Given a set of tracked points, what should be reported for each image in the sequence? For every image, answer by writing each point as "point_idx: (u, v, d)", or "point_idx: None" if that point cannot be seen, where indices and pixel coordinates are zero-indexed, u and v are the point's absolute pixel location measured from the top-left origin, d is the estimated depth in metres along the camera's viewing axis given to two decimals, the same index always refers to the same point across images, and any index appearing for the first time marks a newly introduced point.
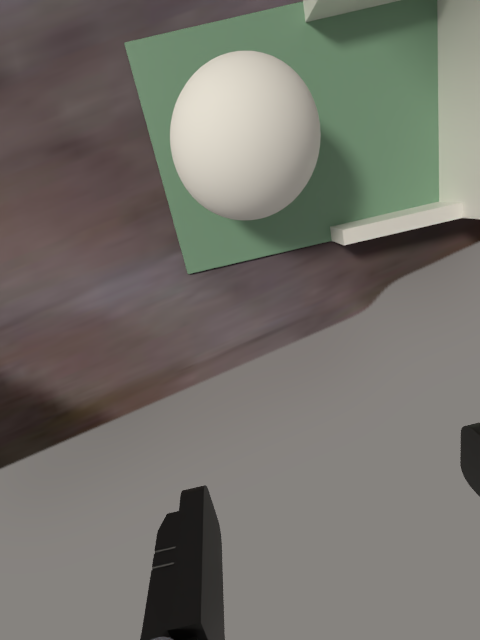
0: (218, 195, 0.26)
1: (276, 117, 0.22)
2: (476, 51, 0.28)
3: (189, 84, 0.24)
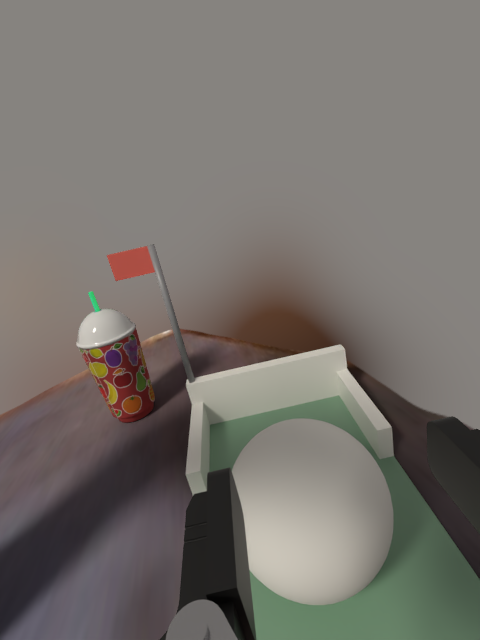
0: (362, 486, 0.21)
1: (283, 427, 0.25)
2: (246, 383, 0.45)
3: (249, 529, 0.22)
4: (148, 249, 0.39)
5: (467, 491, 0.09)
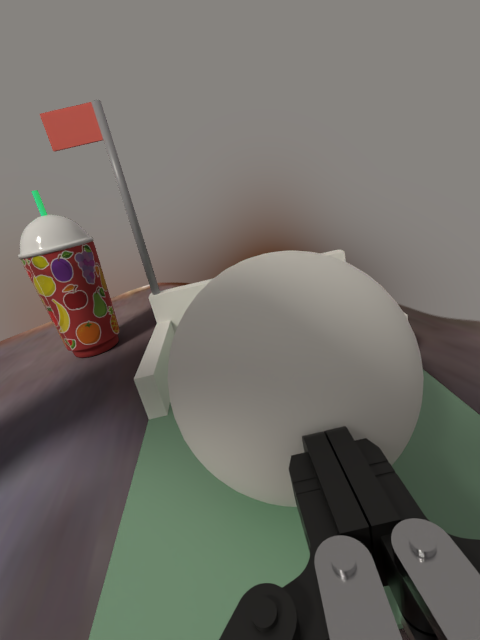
0: (375, 303, 0.13)
1: None
2: None
3: (191, 377, 0.13)
4: (92, 107, 0.30)
5: None
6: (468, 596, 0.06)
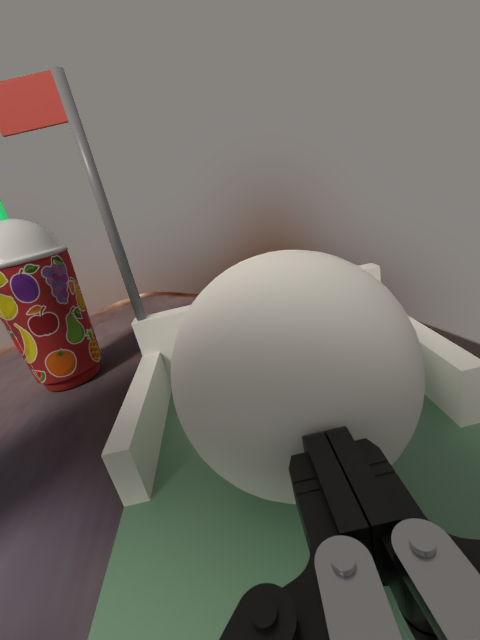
0: None
1: None
2: None
3: None
4: (52, 77, 0.23)
5: None
6: (468, 596, 0.06)
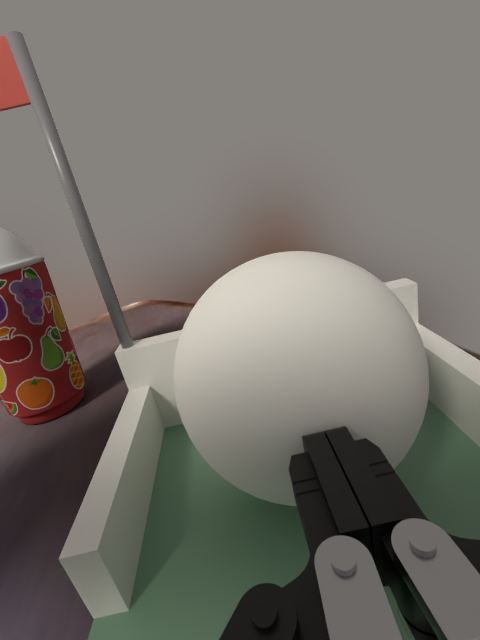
0: None
1: None
2: None
3: None
4: (8, 44, 0.18)
5: None
6: (468, 596, 0.06)
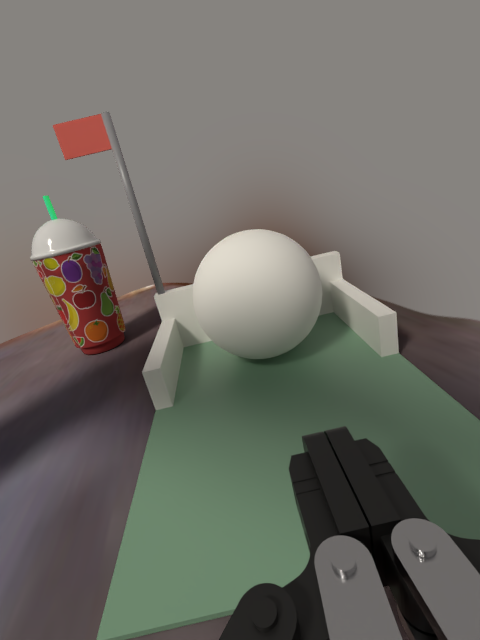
0: None
1: None
2: None
3: None
4: (102, 118, 0.32)
5: None
6: (468, 596, 0.06)
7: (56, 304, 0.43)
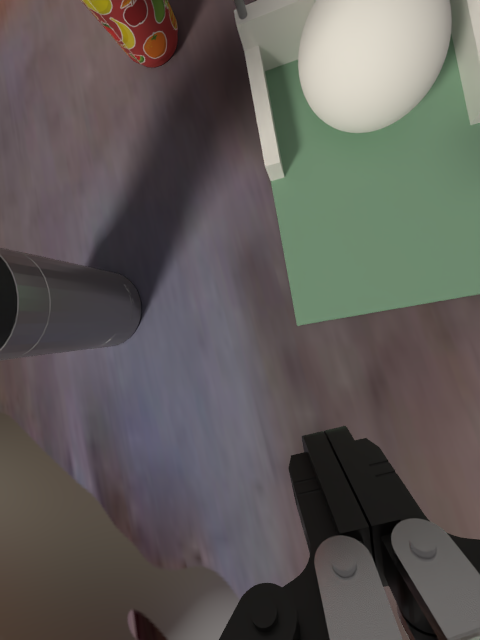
0: None
1: None
2: None
3: None
4: None
5: None
6: (468, 596, 0.06)
7: (100, 20, 0.34)
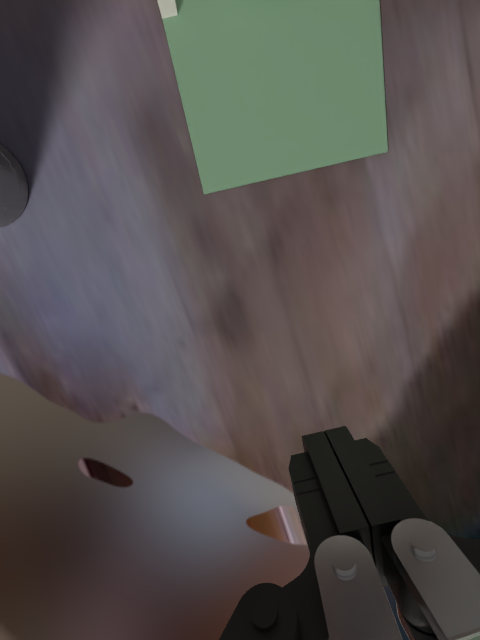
0: None
1: None
2: None
3: None
4: None
5: None
6: (468, 596, 0.06)
7: None
